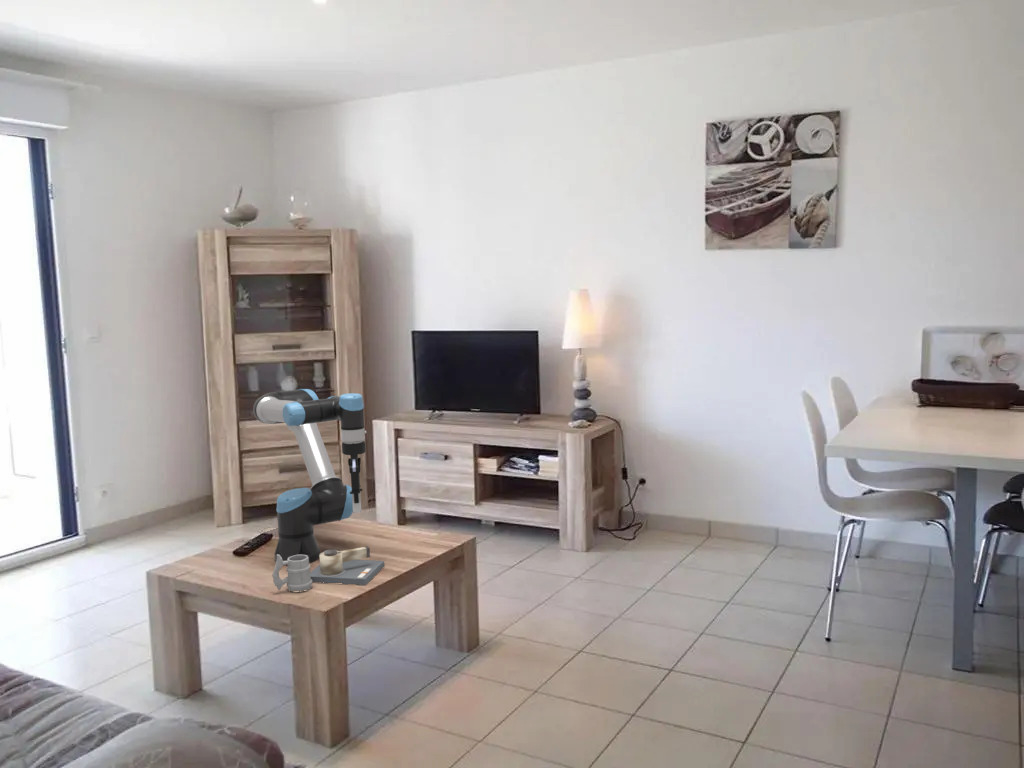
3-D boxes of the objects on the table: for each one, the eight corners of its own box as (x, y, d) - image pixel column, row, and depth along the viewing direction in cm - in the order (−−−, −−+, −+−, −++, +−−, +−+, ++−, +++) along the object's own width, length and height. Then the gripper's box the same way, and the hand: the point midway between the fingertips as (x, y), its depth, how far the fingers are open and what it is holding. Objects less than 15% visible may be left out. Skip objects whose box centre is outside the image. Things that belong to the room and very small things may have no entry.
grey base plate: (305, 582, 267) (305, 574, 266) (327, 564, 283) (327, 557, 283) (365, 585, 263) (365, 577, 262) (384, 566, 279) (384, 559, 279)
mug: (315, 589, 260) (313, 552, 259) (276, 597, 255) (274, 559, 253) (308, 582, 267) (306, 545, 265) (270, 590, 261) (268, 552, 260)
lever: (324, 576, 265) (322, 556, 264) (317, 570, 271) (316, 550, 270) (372, 567, 272) (371, 547, 271) (365, 561, 278) (364, 541, 278)
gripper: (364, 444, 270) (368, 516, 273) (365, 437, 283) (369, 505, 286) (340, 445, 268) (344, 518, 271) (342, 438, 282) (346, 507, 285)
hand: (357, 511), depth 279 cm, fingers closed
